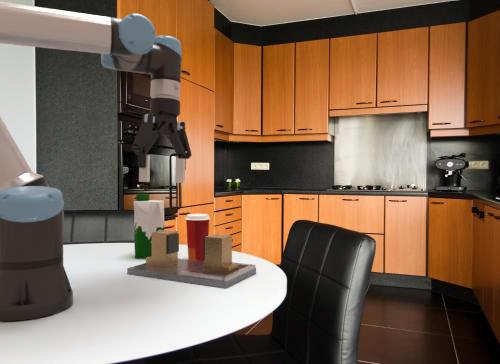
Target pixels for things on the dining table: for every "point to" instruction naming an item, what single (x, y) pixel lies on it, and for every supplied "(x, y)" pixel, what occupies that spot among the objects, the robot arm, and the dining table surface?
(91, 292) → the dining table surface
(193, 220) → the paper cup
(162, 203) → the milk carton
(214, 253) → the upright wooden block
